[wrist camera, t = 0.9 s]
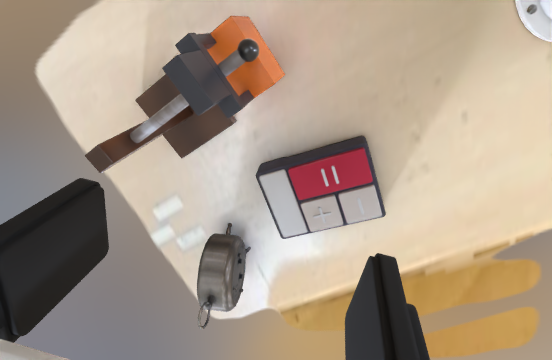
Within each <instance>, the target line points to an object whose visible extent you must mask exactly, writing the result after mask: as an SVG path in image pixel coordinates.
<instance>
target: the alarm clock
mask: <svg viewBox="0 0 552 360" xmlns="http://www.w3.org/2000/svg"><path fill="white" fill-rule="evenodd" d="M231 226H232V224H231V223H228V228H227V231H226V235H225V234H213V235H212V236H210V238H209V239H208V241H207V242H206V244H205V247H204V250H203V253H202V256H201V260H200V265H199V271H198V279H197V295H198V301H199V304H200V306H201V308H200V311H199V315H198V326H199V328H200V329H204V328H205V327H206V325H207V323H208V321H209V317H210V310H216V311H226V312H228V311H231V310H232V309H233V308H234V307H235V306H236V304H237V302H238V300H239V298H240V294H241V292H243V289H242V286H243V281H244V273H245V258H246V253H247V252H248V251H249V250H250V249H251V248H250V247H249V248H247V249H246V250H245V246H244V243H243V241H242V239H241V238H240V237H239V236H236V235H230V233H231ZM203 309H204V310H205V309H207V310H208V316H207V320H206V323H205V325H204V326H203V327H202V326H201V323H200V319H201V313H202V310H203Z"/></svg>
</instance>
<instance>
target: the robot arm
mask: <svg viewBox="0 0 552 360" xmlns="http://www.w3.org/2000/svg"><path fill="white" fill-rule="evenodd" d="M516 7H517V11H518V14H519V17H520V19H521V20H522V22H523V24H524V25H525V27H526V28H527V29H528V30H529V31H530V32H531V33H532V34H534V35H535V36H537V37H539V38H541V39H543V40H545V41H549V42H552V0H516ZM528 7H529V8H530V10H529V11H528V12H527V8H528ZM108 249H109V244H108V232H107V221H106V209H105V198H104V190H103V188H101V187H100V184H99V183H98V182H95V181H91V180H87V179H83V178H79V179H77V180H75V181H74V182H72V183H70V184H69V185H67V186H65V187H64V188H62V189H60V190H59V191H57V192H55V193H54V194H52V195H50V196H49V197H47V198H45V199H44V200H42V201H40V202H38V203H37V204H35V205H33V206H32V207H30V208H28V209H27V210H25V211H23V212H22V213H20V214H18V215H16V216H15V217H14V218H12V219H10V220H8V221H7V222H5V223H3V224H1V225H0V360H69V359H66V358H62V357H59V356H56V355H53V354H49V353H46V352H42V351H39V350H36V349H32V348H29V347H26V346H22V345H19V344H15V343H14V342H15V341H16V340H17V339H18V338H19V337H20V336H24V335H26V334H27V333H29V332H30V331H31V330H32V329H33V328H34V327H35V326H36V325H37V324H38V323H39V322H40V321H41V320H42V319H43V318H44V317H45V316H46V315H47V314H48V313H49V312H50V311H51V310H52V309H53V308H54V307H55V306H56V305H57V304H58V303H59V302H60V301H61V300H62V299H63V298H64V297H65V296H66V295H67V294H68V293H69V292H70V291H71V290H72V289H73V288H74V287H75V286H76V285H77V284H78V283H79V282H80V281H81V280H82V279H83V278H84V277H85V276H86V275H87V274H88V273H89V272H90V271H91V270H92V269H93V268H94V267H95V266H96V265H97V264H98V263H99V262H100V261H101V260H102V259H103V258H104V257H105V256H106V254H107V252H108ZM345 355H346V360H430V358H429V354H428V351H427V347H426V343H425V340H424V336H423V332H422V328H421V325H420V321H419V317H418V313H417V310H416V308H415V307H414V306H413V305H411V304H407V303H406V299H405V294H404V290H403V286H402V282H401V278H400V273H399V269H398V265H397V261H396V258H394V257H391V256H387V255H383V254H379V253H377V254H376V255H375V257H373V256H370V257H369V258H368V260H367V263H366V265H365V268H364V270H363V273H362V275H361V278H360V280H359V283H358V285H357V288H356V290H355V293H354V295H353V298H352V300H351V303H350V305H349V308H348V310H347V313H346V318H345Z"/></svg>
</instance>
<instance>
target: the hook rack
mask: <svg viewBox="0 0 552 360" xmlns="http://www.w3.org/2000/svg"><path fill="white" fill-rule="evenodd" d="M258 55H259V46H258V44H257V43H256V42H255V41H254V40H253V39H249V38H246V39H243V40H242V41H241V42H240V43H239V44H238V47H237V50H235V51H234V52H233V53H232V54H230V55H229V56H228V57H227V58H225V59H224V60H223V61H221V62H220V63H219V64H218V67H219V68H220V70H221V71H222V73H223V74H224V75H225V77H227V76H228V75H229V74H231V73H232V72H233V71H235V70H236V69H237V68H239V67H240V66H241V65H243V64H244V63H245V62H252V61H254V60H255V59H256V58H257V57H258ZM135 101H136V102H137V103H138V104H139V106H140V107H141V108H142V109H143V111H144V112H145V113H146V114H147V116H148V117H149V119H148V120H146V121H145V122H143V123H141V124H139V125H137V126H135V127H133V128H131V129H129V130H127V131H125V132H123V133H121V134H119V135H117V136H115V137H113V138H111V139H109V140H107V141H105V142H103V143H101V144H99V145H97V146H96V147H95V148H93V149H92V150H91V151H90V152H89V153H87V154H86V155H85V157H86V158H87V159H88V160H89V161H90V162H91V163H92V165H93V166H94V167H95V168H96V169H97V170H98V171H99V172H100V173H102V172H104V171H105V170H107V169H108V168H110V167H112V166H113V165H115V164H116V163H118V162H120V161H121V160H123V159H124V158H126V157H128V156H129V155H131V154H132V153H134V152H136V151H137V150H139V149H140V148H142V147H144V146H145V145H147V144H148V143H150V142H152V141H153V140H155V139H156V138H158V137H160V136H161V135H163V136H164V137H165V138H166V140H167V141H168V142H169V143H170V145H171V146H172V147H173V148H174V150H175V151H176V152H177V153H178V155H179V156H180V157H181V158H183V157H185V156H186V155H188V154H189V153H191V152H192V151H194V150H195V149H197V148H198V147H200V146H201V145H203V144H204V143H206V142H207V141H209V140H210V139H212V138H213V137H215V136H216V135H218V134H219V133H221V132H222V131H224V130H225V129H226V128H228V127H229V126H231V125H232V124H234V123H235V122H236V119H235V118H234V116H231V117H230V118H227V117H226V116H225V114H224V113H223V111H222V110H221V109H220V107H219V106H218V104H216V105H215V106H213V107H212V108H210V109H209V110H207V111H205V112H204V113H202V114H201V115H199V116H197V114H196V113H195V112H194V110H193V109H192V108H191V106H190V105H189V104H188V102H187V101H186V100H185V98H184V97H183V96H182V94H181V93H180V92H179V90H178V89H177V88H176V86H175V85H174V84H173V82H172V81H171V80H170V78H169V77H168V76H167V74H166V75H164V76H163V77H162V78H161V79H160V80H158V81H157V82H156V83H155V84H154V85H153V86H151V87H150V88H149V89H148V90H147V91H145V92H144V93H143V94H142V95H141V96H140V97H138V98H137V99H136V100H135Z"/></svg>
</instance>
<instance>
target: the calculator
mask: <svg viewBox="0 0 552 360" xmlns="http://www.w3.org/2000/svg"><path fill="white" fill-rule="evenodd" d="M256 178H257V180H258V183H259V185H260V188H261V190H262V193H263V195H264V197H265V200H266V202H267V205H268V207H269V209H270V212H271V214H272V217H273V219H274V221H275V224H276V226H277V229H278V231H279V233H280V236H281V238H283V239H286V238H290V237H295V236H299V235H304V234H308V233H313V232H317V231H322V230H326V229H331V228H335V227H340V226H344V225H349V224H353V223H358V222H362V221H367V220H372V219H376V218H381V217H384V216H385V215H386V213H385V208H384V205H383V201H382V197H381V193H380V189H379V186H378V182H377V178H376V174H375V170H374V166H373V163H372V159H371V155H370V151H369V147H368V144H367V141H366V139H365V137H364V136H359V137H356V138H353V139H349V140H346V141H342V142H339V143H335V144H332V145H329V146H325V147H322V148H318V149H315V150H311V151H308V152H305V153H301V154H298V155H294V156H291V157H283V158H279V159H276V160H272V161H269V162H266V163H262V164H261V165H260V167H259V169H258V171H257V173H256Z"/></svg>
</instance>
